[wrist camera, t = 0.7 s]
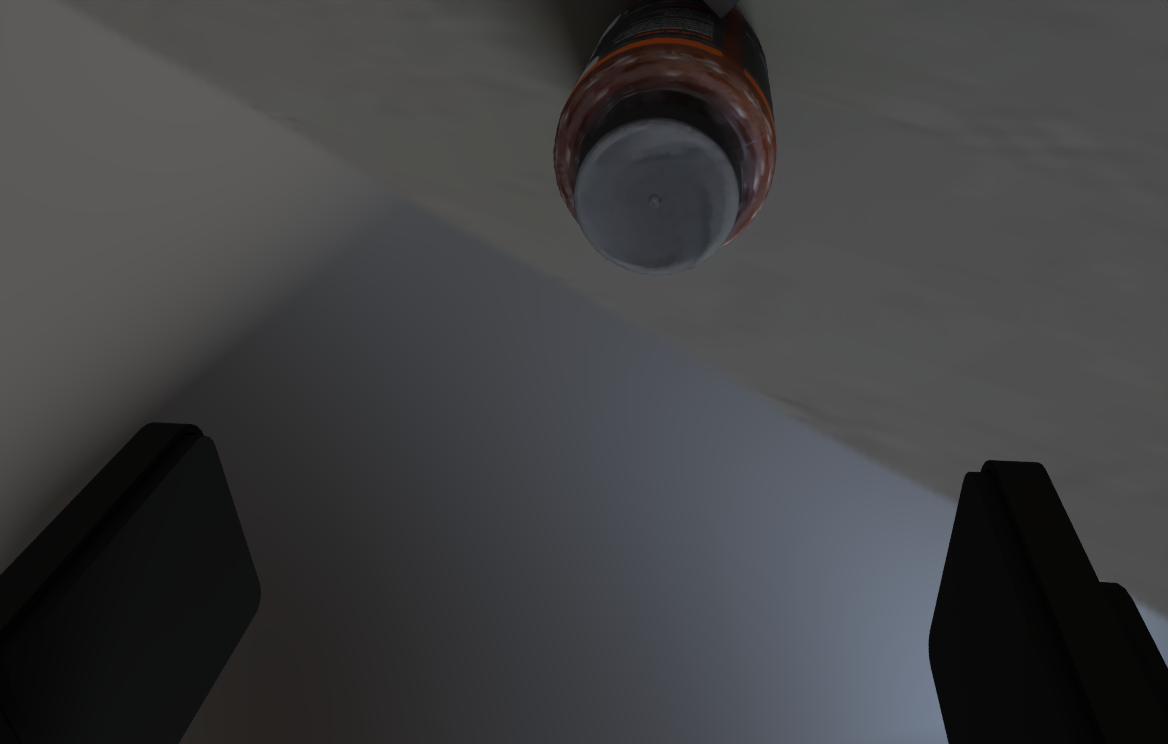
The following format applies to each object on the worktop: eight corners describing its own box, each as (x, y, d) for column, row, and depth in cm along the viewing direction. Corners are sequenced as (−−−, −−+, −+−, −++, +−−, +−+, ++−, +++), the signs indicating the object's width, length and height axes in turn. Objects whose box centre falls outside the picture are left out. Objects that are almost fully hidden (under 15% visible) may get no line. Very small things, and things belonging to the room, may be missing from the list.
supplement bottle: (560, 42, 31) (482, 146, 21) (719, -52, 28) (712, 17, 19) (643, 191, 33) (606, 345, 23) (796, 115, 31) (823, 251, 21)
